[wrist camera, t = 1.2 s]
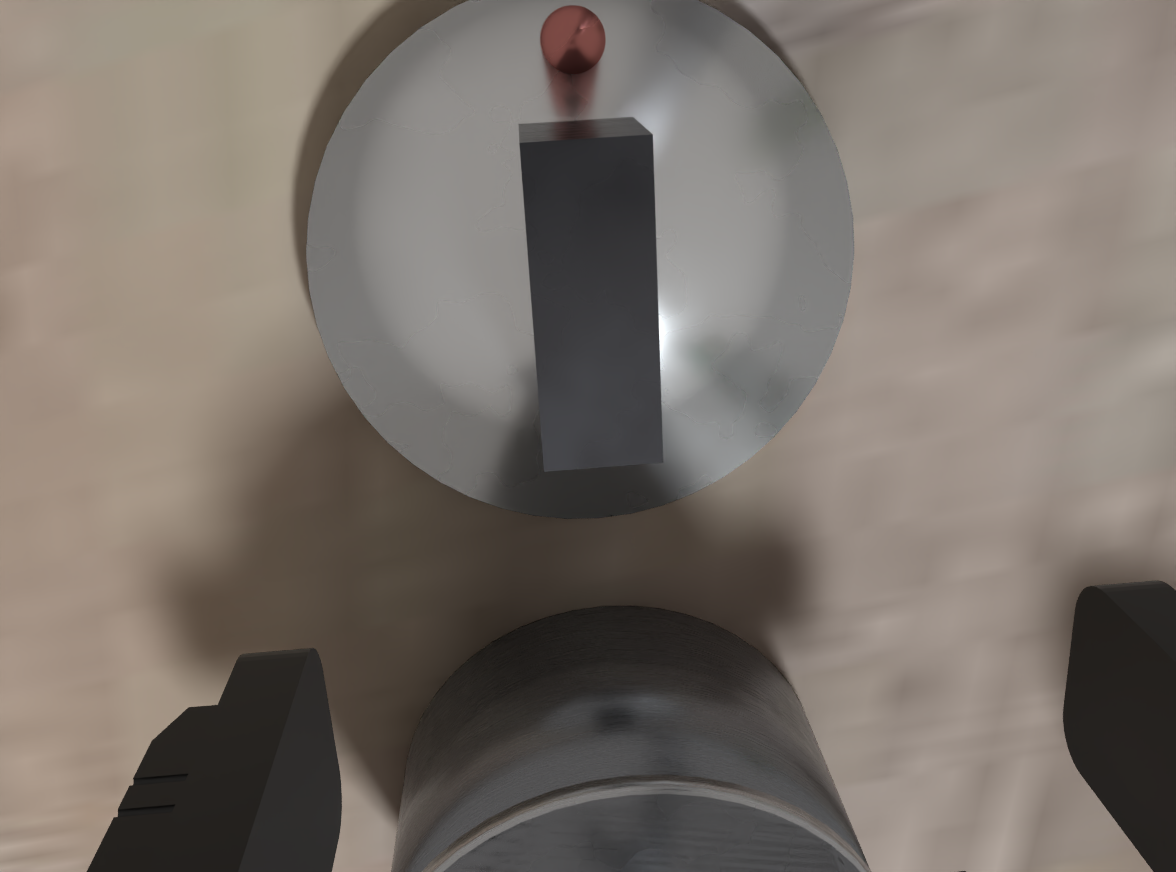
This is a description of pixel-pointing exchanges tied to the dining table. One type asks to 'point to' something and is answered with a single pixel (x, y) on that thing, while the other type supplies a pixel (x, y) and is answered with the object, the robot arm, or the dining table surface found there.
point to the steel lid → (580, 251)
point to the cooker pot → (620, 757)
